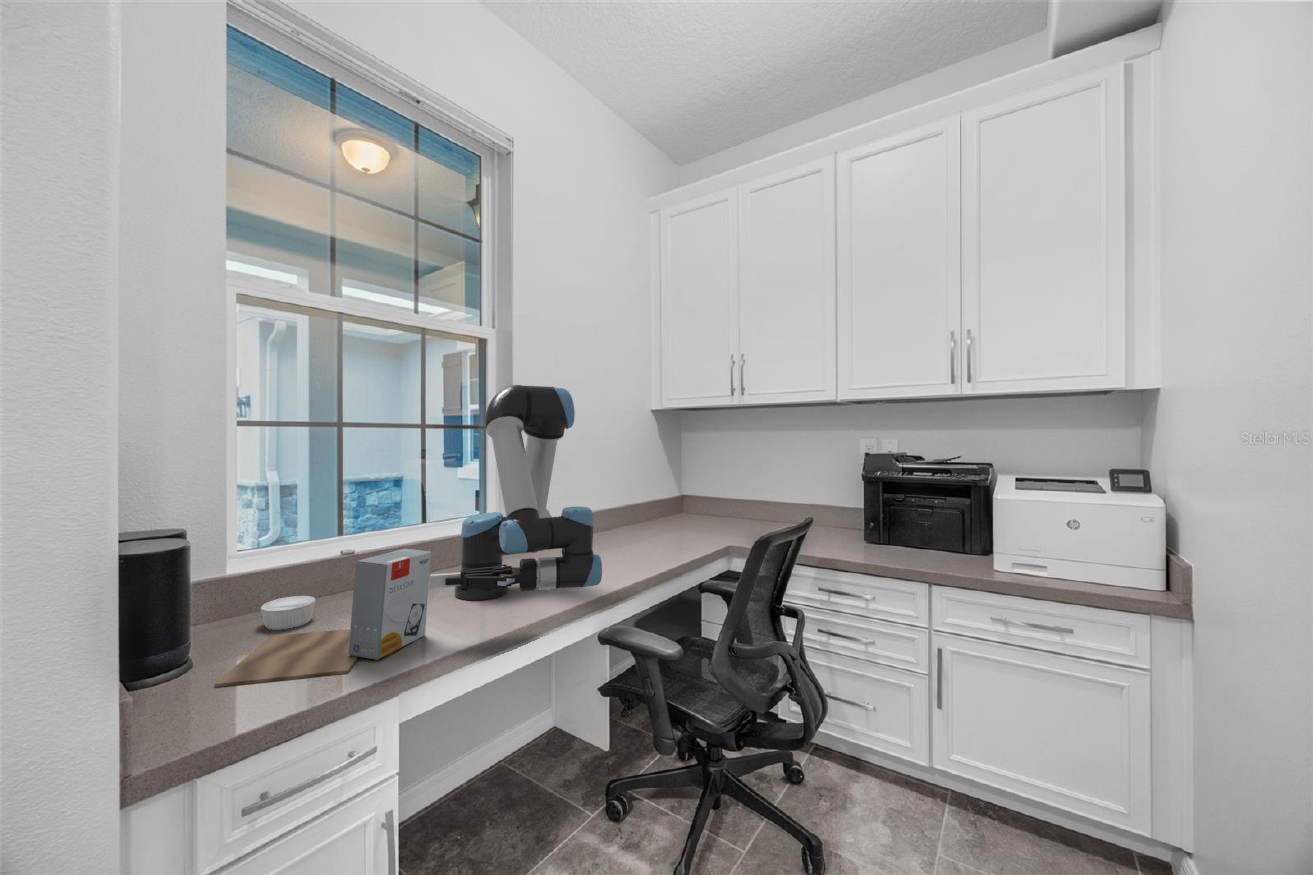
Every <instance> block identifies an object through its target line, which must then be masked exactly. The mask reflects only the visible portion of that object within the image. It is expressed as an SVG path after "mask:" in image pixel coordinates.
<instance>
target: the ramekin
mask: <svg viewBox="0 0 1313 875" xmlns="http://www.w3.org/2000/svg"><path fill="white" fill-rule="evenodd" d="M315 604H316V598H315V597H313V596H310V595H295V596H286V597H280V598H277V599H274V600H270V601H268V602H266V603H263V604H262V605H261V606H260V612H261V614H262V620H263V624H264V626H265V628H267V629H268V630H271V629H272V630H271V631H273V630H274V631H281V630H282V629H283V630H289V628H290V629H294V628H293V627H295V628H297V627H301V626H304V625H306V624H308V623H309V622H311V620H312V618H313V616H314V615H313V613H314V608H315ZM283 630H282V631H283Z"/></svg>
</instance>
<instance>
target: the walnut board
mask: <svg viewBox="0 0 1313 875" xmlns="http://www.w3.org/2000/svg"><path fill="white" fill-rule="evenodd" d="M349 638H350V628H348V629H347V628H346V629H335V630H333V629H332V630H323V631H311V632H302V633H301V632H300V633H288V634H287V633H286V634H277V635H270V636H269V637H268V638H267V639H266V640H264V641H263V642H262V643H261V644H260V645H258V646H257V647H256V648H255V649H254V650H253V651H251V652H250V653H249V654H248V655H247V656H245V657H244V659H242V660H240V662H239V663H237V664H236V665H235V666H234V667H232V668H231V670H229V671H228V672H227V673H226V674H224V676H222V677H221V678H220V679H218V681H216V682H215V683H214V688H221V687H230V686H241V685H247V684H248V685H249V684H260V683H268V682H269V683H270V682H279V681H286V680H297V679H298V680H299V679H305V678H314V677H323V676H324V677H325V676H333V675H343V674H349V673H350V671H351V670H352V668H353V667H354V665H355V664H356V662H357V660H358V659H359V658H360V657H359V656H353V655H349V654H348V649H349Z"/></svg>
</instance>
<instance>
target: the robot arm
mask: <svg viewBox="0 0 1313 875" xmlns="http://www.w3.org/2000/svg"><path fill="white" fill-rule="evenodd" d="M575 410H576V409H575V405H574V400H573V397H572V394H571V393H570V392H569V391H568V390H567V389H565V388H562V387H555V386H541V385H540V386H539V385H536V386H535V385H522V384H521V385H520V384H513V385H509V386H507V387H505V388H502V389H501V390H499V391H498V392H497V393H496V394H495V395H494V396H493V397H492V398H491V400H490V402H489V404H488V406H487V409H486V412H485V417H484V419H485V420H484V423H485V424H484V425H485V429H486V430H485V431H486V433H487V436H489V437H491V440H492V445H493V451H494V457H495V462H496V468H497V473H498V479H499V483H500V484H499V485H500V490H501V495H502V501H503V506H504V507H503V508H504V511H505V516H504V514H503V513H502V512H498V511H494V512H484V513H479V514H473V515H471V516H468V517H466V518H465V519H464V520H463V521H462V524H461V532H460V537H461V558H460V559H461V562H460V563H461V568H460V572H446V573H431V574H429V588H430V589H433V588H434V589H435V588H449V587H454V596H455V597H456V598H457V599H460V600H465V601H481V600H482V601H483V600H490V599H491V600H492V599H496V598H500V597H501V596H504V595H506V594H507V593H508V592H509V587H512V586H513V585H518V584H519V591H520V592H533V591H535V590H537V589H538V590H539V591H541V590H543V591H545V590H546V591H547V592H551V590H556V589H557V590H558V589H575V588H581V589H582V588H589V587H594V586H598V585H600V583H601V582H602V577H603V563H602V558H601V556H600V555H599V554H595V553H594V552H593V543H594V540H593V539H594V517H593V511H592V509H591V508H590V507H588V506H567V507H564V508H563V509H562V510H561V511H562V512H561V514H560V515H559V516H552V514H551V513H550V511H549V510H548V509H547V505H548V499H549V498H548V497H549V492H550V486H551V481H552V474H553V470H554V462H555V456H556V451H557V445H558V441H559V440H561V439H562V438H563V437H564V435H565V430H568V429H570V428H572V427H573V425H574V422H575V416H576V414H575V413H576V412H575ZM522 432H523V433H524V434H525V435H526V436H527V439H526V445H525V443H524V437H523V434H522ZM558 549H561V556H546V557H544V556H543V557H538V559H535V558H534V557H532V558H531V557H530V558H521V559H520V560H519V567H515V566H512V565H507V564H505V563H504V564H503V556H510V555H511V556H512V555H519V554H521V555H522V554H527V553H529V554H530V553H531V554H532V553H533V554H535V553H537V552H543V551H545V550H546V551H547V550H558Z"/></svg>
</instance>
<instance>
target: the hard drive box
mask: <svg viewBox="0 0 1313 875" xmlns="http://www.w3.org/2000/svg"><path fill="white" fill-rule="evenodd" d="M431 559H432V551H430V550H429V551H428V550H421V549H419V550H418V549H411V548H402V549H399V550H398V549H397V550H394V551H389V552H387V553H383V554H377V555H375V556H371V557H366V558H363V559H359V560H356V562H355V566H354V568H355V569H354V579H353V582H354V583H353V591H352V592H353V594H352V604H351V605H352V606H351V614H350V615H351V617H350V626H349V629H350V638H349V649H348V654H349V655H353V656H359V658H364V659H365V658H366V659H371V660H377V661H378V660H380V659H382V658H384V657H385V656H389V655H391V654H392V653H394V652H395V651H397V650H399V649H402V648H403V647H405V646H406V645H409V644H411V643H414V642H416V641H417V640H418V639H420V638H422V637H424V636H425V635H426V634H425V633H426V626H427V625H426V622H427V609H428V597H429V596H428V595H429V587H430V572H431V571H430V570H431Z"/></svg>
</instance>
